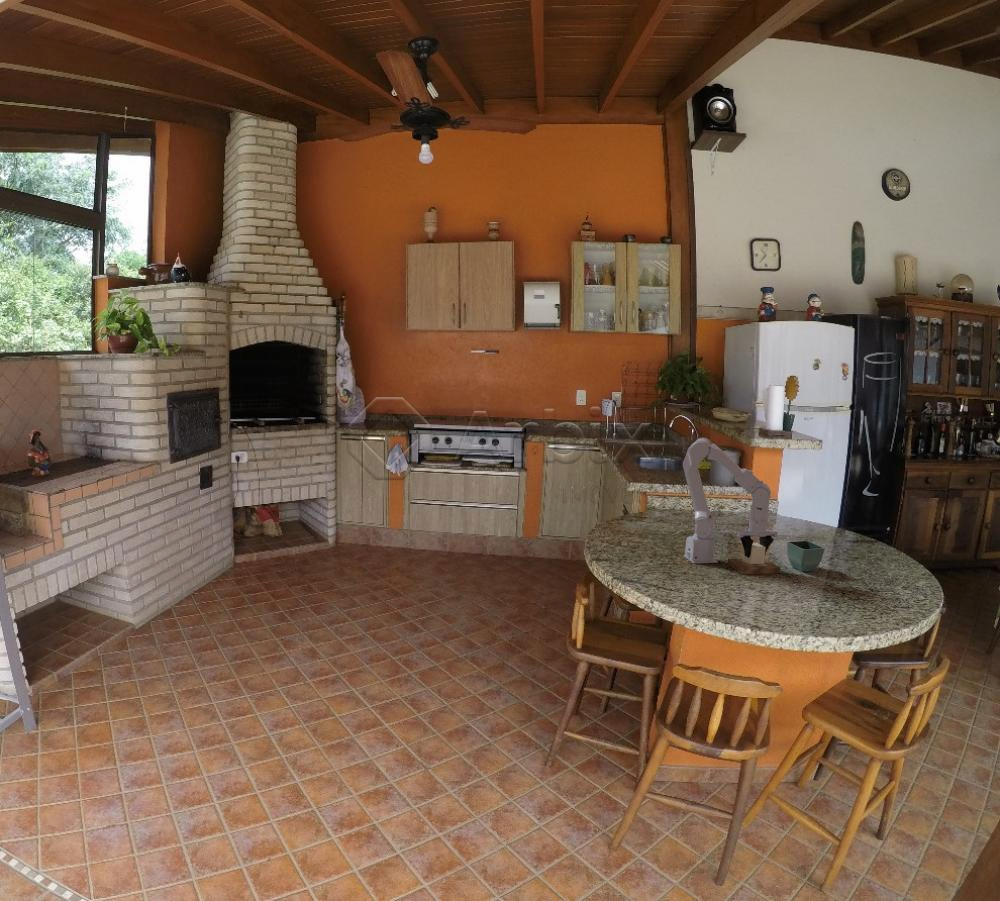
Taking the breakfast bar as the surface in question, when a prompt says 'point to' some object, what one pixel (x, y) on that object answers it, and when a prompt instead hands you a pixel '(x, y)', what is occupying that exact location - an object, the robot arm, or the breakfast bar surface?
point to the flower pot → (804, 555)
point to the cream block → (756, 554)
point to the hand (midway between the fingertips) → (754, 556)
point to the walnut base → (753, 567)
